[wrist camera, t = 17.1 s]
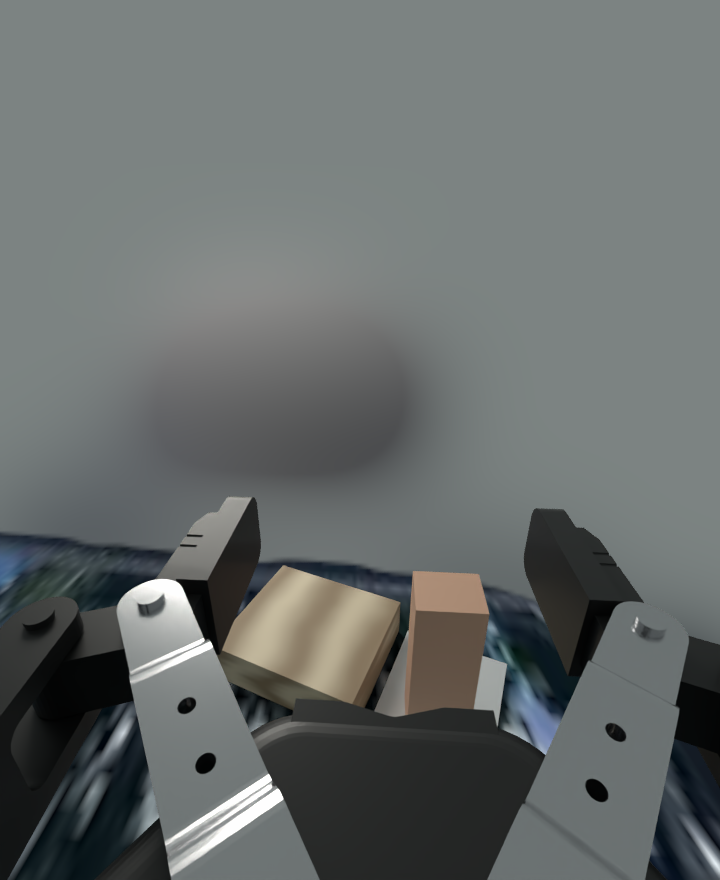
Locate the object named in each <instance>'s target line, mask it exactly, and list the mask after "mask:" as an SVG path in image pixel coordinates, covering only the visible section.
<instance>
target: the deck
mask: <svg viewBox="0 0 720 880" xmlns="http://www.w3.org/2000/svg"><path fill="white" fill-rule="evenodd" d="M399 616H400V602H397V601H394V600H391V599H388V598H385V597H382V596H378V595H375V594H372V593H369V592H366V591H363V590H359V589H356V588H353V587H350V586H347V585H344V584H340V583H337V582H334V581H331V580H328V579H324V578H321V577H318V576H315V575H312V574H309V573H305V572H302V571H299V570H296V569H293V568H290V567H286V566H282V568H281V569H280V570H279V571H278V572H277V573H276V574H275V575H274V577H273V578H272V579H271V580H270V581H269V582H268V583H267V584H266V586H265V587H264V588H263V589H262V590H261V591H260V592H259V593H258V595H257V596H256V597H255V598H254V599H253V600H252V601H251V602H250V604H249V605H248V606H247V607H246V608H245V609H244V610H243V611H242V613H241V614H240V615H239V616H238V617H237V618H236V619H235V620H234V622H233V624H232V627H231V629H230V632H229V634H228V637H227V639H226V642H225V644H224V646H223V649H222V651H221V654H220V655H217V657H218V660H219V662H220V664H221V667H222V669H223V671H224V673H225V676H226V678H227V680H228V682H231V683H233V684H235V685H237V686H240V687H242V688H244V689H246V690H248V691H251V692H253V693H255V694H257V695H260V696H262V697H264V698H266V699H268V700H271V701H273V702H275V703H277V704H280V705H282V706H284V707H286V708H289V709H291V710H294V705H295V700H296V698H298V699H314V700H331V701H344V702H347V703H350V704H354V705H357V706H360V707H363V708H365V706H366V704H367V702H368V699H369V697H370V695H371V693H372V690H373V688H374V686H375V684H376V681H377V679H378V677H379V675H380V672H381V670H382V668H383V665H384V663H385V661H386V659H387V656H388V654H389V652H390V650H391V647H392V645H393V643H394V641H395V638H396V636H397V634H398V632H399Z"/></svg>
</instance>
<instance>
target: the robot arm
mask: <svg viewBox="0 0 720 880" xmlns="http://www.w3.org/2000/svg"><path fill="white" fill-rule="evenodd" d="M260 549H261V539H260V530H259V520H258V510H257V502H256V500H255V498H254V497H233V496H229V497H228V498H227V499H226V500H225V502H224V503H223V505H222V507H221V508H220V510H219V512H218V513H208V514H206V515H205V516H204V517H202V518H201V519H199V520H198V521H197V522H195V523H194V525H193V526H192V528H191V529H190V531H189V532H188V534H187V537H185V538H184V539H183V541H182V542H181V544H180V547H178V548H177V549H176V551H175V552H174V554H173V555H172V557H171V558H170V560H169V561H168V562H167V564H166V565H165V567H164V568H163V570H162V571H161V572H160V574H159V575H158V577H157V578H156V580H152V581H149V582H145V583H143V584H140V585H138V586H136V587H135V588H133V589H132V590H130V591H129V592H128V593H126V594H125V595H124V596H123V597H122V599H121V600H120V602H119V604H118V605H117V606H113V607H108V608H103V609H98V610H93V611H87V612H82V613H80V612H79V609H78V606H77V604H76V602H75V601H74V600H73V599H70V598H67V597H52V598H47V599H43V600H40V601H37V602H35V603H32V604H30V605H28V606H26V607H24V608H23V609H21V610H20V611H18V612H17V613H15V614H14V615H13V616H12V617H11V618H10V619H9V620H8V621H7V622H6V623H5V624H4V625H3V626H2V627H1V628H0V880H7V879H8V877H9V876H10V874H11V872H12V870H13V868H14V867H15V865H16V863H17V861H18V859H19V858H20V856H21V854H22V852H23V850H24V849H25V847H26V845H27V843H28V841H29V839H30V838H31V836H32V834H33V832H34V830H35V829H36V827H37V825H38V823H39V821H40V820H41V818H42V816H43V814H44V812H45V811H46V809H47V807H48V805H49V803H50V801H51V800H52V798H53V796H54V794H55V792H56V791H57V789H58V787H59V785H60V783H61V782H62V780H63V778H64V776H65V774H66V773H67V771H68V769H69V767H70V765H71V763H72V762H73V760H74V758H75V756H76V754H77V753H78V751H79V749H80V747H81V745H82V744H83V742H84V740H85V738H86V736H87V735H88V733H89V731H90V729H91V727H92V725H93V724H94V722H95V720H96V718H97V716H98V715H99V713H100V711H101V709H102V708H106V707H110V706H114V705H118V704H122V703H126V702H130V701H134V702H135V707H136V711H137V716H138V721H139V725H140V730H141V735H142V739H143V744H144V748H145V753H146V758H147V762H148V767H149V772H150V776H151V781H152V786H153V790H154V795H155V799H156V804H157V809H158V813H159V818H158V819H157V820H156V821H155V822H154V823H153V824H152V825H151V826H150V827H149V828H148V829H147V830H146V831H145V832H144V833H143V834H142V835H141V836H140V837H139V838H137V839H136V840H135V841H134V842H133V843H132V844H131V845H130V846H129V847H128V848H127V849H126V850H125V851H124V852H123V853H122V854H121V855H120V856H119V857H118V858H117V859H116V860H115V861H113V862H112V863H111V864H110V865H109V866H108V867H107V868H106V869H105V870H104V871H103V872H102V873H101V874H100V875H99V876H98V877H97V878H96V879H95V880H667V879H666V878H665V877H664V876H663V875H662V874H661V873H660V872H659V871H658V870H657V869H656V868H655V867H654V866H653V865H652V864H651V862H650V861H649V857H650V853H651V848H652V843H653V838H654V833H655V828H656V823H657V818H658V814H659V809H660V804H661V799H662V794H663V789H664V784H665V779H666V775H667V770H668V765H669V760H670V755H671V750H672V745H673V740H674V739H677V740H680V741H683V742H685V743H689V744H691V745H694V746H697V748H698V749H699V751H700V753H701V755H702V757H703V759H704V760H705V762H706V764H707V766H708V768H709V769H710V771H711V773H712V775H713V777H714V778H715V780H716V782H717V784H718V786H719V787H720V645H718V644H715V643H711V642H708V641H704V640H701V639H697V638H694V637H690V636H688V634H687V632H686V630H685V629H684V628H683V626H682V625H681V624H680V623H679V622H678V621H677V620H676V619H675V618H674V617H672V616H671V615H669V614H668V613H666V612H665V611H663V610H661V609H659V608H657V607H654V606H652V605H649V604H645V603H644V602H643V600H642V599H641V598H640V597H639V595H638V593H637V592H636V591H635V589H634V588H633V586H632V585H631V584H630V582H629V581H628V579H627V578H626V576H625V575H624V574H623V572H622V571H621V569H620V568H619V567H617V565H616V563H615V561H614V560H613V558H612V557H611V556H609V553H608V551H607V550H606V548H605V547H604V545H603V544H602V543H601V541H600V540H599V539H598V538H596V537H595V536H594V535H592V534H591V533H590V532H588V531H587V530H586V529H584V528H576V527H575V526H574V524H573V522H572V521H571V519H570V518H569V516H568V515H567V513H566V512H565V511H564V510H562V509H537V508H536V509H534V511H533V513H532V516H531V522H530V526H529V531H528V537H527V542H526V547H525V553H524V567H525V572H526V576H527V578H528V581H529V583H530V585H531V588H532V590H533V593H534V595H535V597H536V600H537V602H538V605H539V607H540V610H541V612H542V614H543V617H544V619H545V622H546V624H547V626H548V629H549V631H550V634H551V636H552V639H553V641H554V643H555V646H556V648H557V651H558V653H559V656H560V658H561V660H562V663H563V665H564V668H565V670H566V672H567V675H568V676H579V677H581V678H580V680H579V683H578V685H577V687H576V689H575V691H574V694H573V696H572V698H571V700H570V703H569V705H568V707H567V709H566V711H565V714H564V716H563V718H562V720H561V723H560V725H559V727H558V729H557V731H556V734H555V736H554V738H553V740H552V743H551V745H550V747H549V749H548V751H547V754H546V755H545V754H543V753H542V752H541V751H540V750H538V749H537V748H535V747H534V746H533V745H531V744H530V743H528V742H526V741H525V740H523V739H521V738H519V737H518V736H515V735H513V734H511V733H509V732H506V731H504V730H501V729H498V728H497V723H496V719H495V715H494V710H479V709H462V708H446V707H444V708H439V709H434V710H429V711H424V712H419V713H414V714H409V715H404V716H398V717H392V716H388V715H384V714H381V713H378V712H375V711H372V710H369V709H366V708H363V707H360V706H357V705H354V704H350V703H347V702H344V701H331V700H314V699H298V698H296V700H295V705H294V710H293V715H291V716H286V717H283V718H280V719H277V720H274V721H271V722H269V723H267V724H265V725H263V726H261V727H259V728H257V729H256V730H254V731H252V732H251V733H250V730H249V728H248V726H247V724H246V721H245V719H244V717H243V714H242V712H241V710H240V708H239V705H238V703H237V701H236V698H235V696H234V694H233V692H232V689H231V687H230V685H229V682H228V680H227V678H226V676H225V673H224V671H223V669H222V667H221V664H220V662H219V660H218V657H217V655H220V654H221V651H222V649H223V646H224V644H225V642H226V639H227V637H228V634H229V632H230V629H231V627H232V624H233V622H234V620H235V617H236V615H237V612H238V610H239V607H240V605H241V602H242V600H243V598H244V595H245V593H246V590H247V588H248V585H249V583H250V581H251V578H252V576H253V573H254V571H255V568H256V566H257V563H258V561H259V556H260Z"/></svg>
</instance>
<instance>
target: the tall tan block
mask: <svg viewBox="0 0 720 880" xmlns="http://www.w3.org/2000/svg"><path fill="white" fill-rule="evenodd" d="M488 619H489V611H488V607H487V603H486V600H485V596H484V592H483V588H482V585H481V581H480V577H479V574H465V573H444V572H423V571H413V579H412V593H411V608H410V622H409V637H408V651H407V665H406V680H405V715H409V714H414V713H419V712H424V711H429V710H434V709H439V708H444V707H446V708H462V709H474V704H475V698H476V692H477V686H478V680H479V674H480V668H481V662H482V656H483V649H484V643H485V637H486V631H487V625H488Z"/></svg>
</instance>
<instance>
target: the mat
mask: <svg viewBox="0 0 720 880" xmlns="http://www.w3.org/2000/svg"><path fill="white" fill-rule="evenodd" d="M408 637H409V631H408V632H407V634H406V636H405V639H404V641H403V644H402V646H401V648H400V651H399V653H398V656H397V658H396V660H395V663H394V665H393V668H392V670H391V672H390V675H389V677H388V680H387V682H386V684H385V687H384V689H383V692H382V694H381V696H380V699H379V701H378V703H377V706H376V708H375V712H378V713H381V714H384V715H388V716H392V717H398V716H404V715H405V680H406V665H407V651H408ZM506 667H507V664H505V663H502V662H499V661H496V660H493V659H490V658H487V657H484V656H482V662H481V668H480V674H479V680H478V686H477V692H476V698H475V704H474V709H479V710H494V715H495V719H496V723H497V727H498V721H499V714H500V707H501V700H502V694H503V687H504V680H505V674H506Z"/></svg>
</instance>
